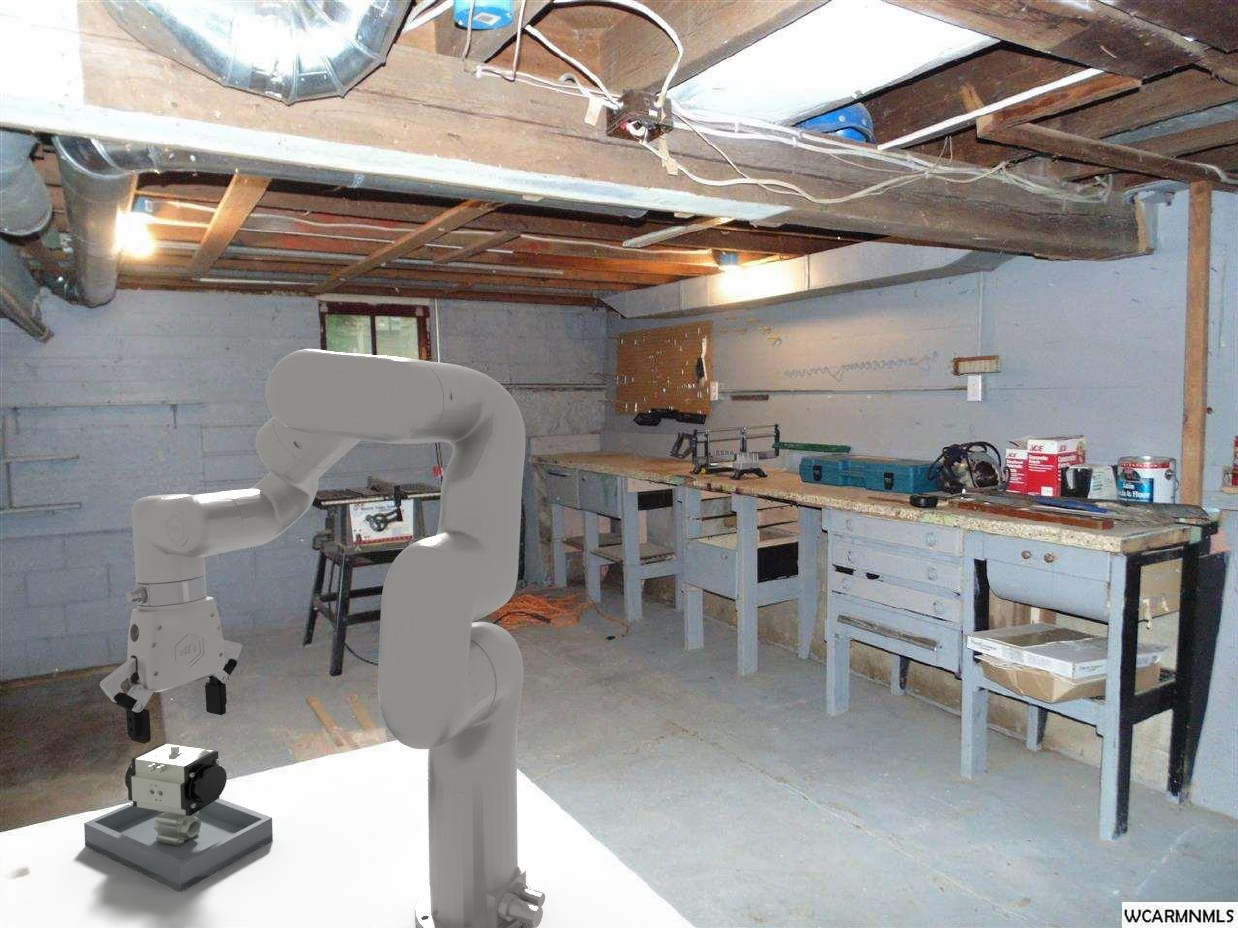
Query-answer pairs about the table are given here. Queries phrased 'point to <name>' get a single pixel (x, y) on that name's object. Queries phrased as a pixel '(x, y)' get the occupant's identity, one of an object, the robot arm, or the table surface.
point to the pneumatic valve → (175, 787)
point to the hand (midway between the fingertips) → (180, 726)
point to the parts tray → (213, 848)
